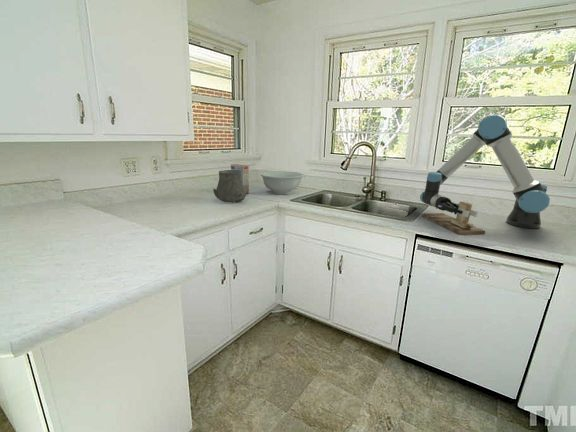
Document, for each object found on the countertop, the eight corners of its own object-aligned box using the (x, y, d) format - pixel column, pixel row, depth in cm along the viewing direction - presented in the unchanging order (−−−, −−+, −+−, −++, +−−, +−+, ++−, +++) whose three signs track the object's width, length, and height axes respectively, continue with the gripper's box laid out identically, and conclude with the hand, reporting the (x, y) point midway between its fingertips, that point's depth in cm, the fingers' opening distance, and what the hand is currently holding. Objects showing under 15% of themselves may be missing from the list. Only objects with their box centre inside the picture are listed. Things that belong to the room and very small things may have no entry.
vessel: (225, 207, 178) (224, 174, 172) (209, 200, 193) (207, 170, 188) (254, 202, 191) (254, 172, 186) (237, 196, 207) (236, 168, 202)
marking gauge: (459, 222, 155) (463, 200, 152) (475, 229, 145) (480, 205, 141) (450, 222, 154) (455, 200, 151) (466, 229, 144) (471, 205, 141)
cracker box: (249, 193, 216) (249, 165, 210) (242, 194, 212) (242, 166, 206) (237, 190, 225) (236, 163, 219) (230, 191, 221) (230, 164, 215)
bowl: (260, 188, 238) (260, 170, 234) (299, 188, 242) (300, 171, 237) (261, 197, 207) (261, 176, 203) (305, 197, 211) (306, 177, 207)
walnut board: (420, 215, 173) (421, 213, 172) (442, 215, 175) (442, 212, 174) (459, 234, 142) (460, 231, 142) (484, 233, 145) (485, 230, 144)
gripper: (453, 208, 168) (485, 221, 146) (426, 209, 165) (455, 221, 143) (455, 196, 166) (489, 206, 144) (428, 196, 163) (458, 207, 141)
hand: (472, 214), depth 143 cm, fingers closed on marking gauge, 4 cm apart
